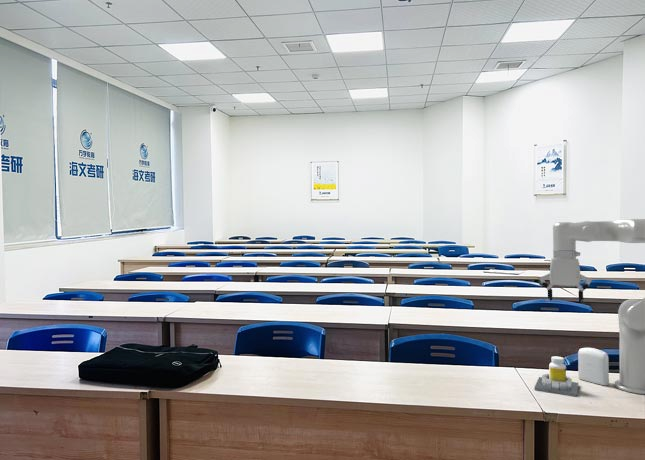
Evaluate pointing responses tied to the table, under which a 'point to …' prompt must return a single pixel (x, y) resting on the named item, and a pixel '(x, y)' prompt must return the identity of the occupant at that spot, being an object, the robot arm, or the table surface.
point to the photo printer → (593, 366)
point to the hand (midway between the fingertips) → (565, 300)
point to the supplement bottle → (557, 369)
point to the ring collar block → (557, 386)
